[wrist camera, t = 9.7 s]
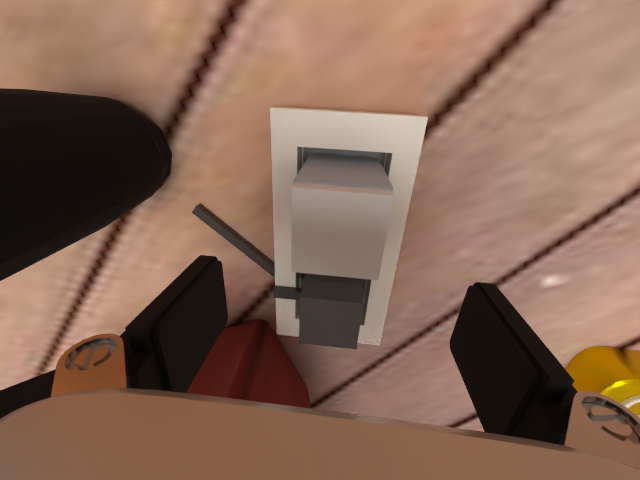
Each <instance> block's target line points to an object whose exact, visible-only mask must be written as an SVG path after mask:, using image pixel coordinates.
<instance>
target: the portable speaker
mask: <svg viewBox="0 0 640 480" xmlns="http://www.w3.org/2000/svg"><path fill="white" fill-rule="evenodd" d="M171 154H172V153H171V151H170V149H169V147H168V145H167V143H166V141H165V138H164V136H163V134H162V132H161V130H160V128H159V127H157V126H156V125H154V124H153V123H151V122H150V121H148V120H147V119H145V118H144V117H142V116H141V115H140V114H138V113H137V112H135V111H133V110H132V109H130V108H129V107H127V106H126V105H124V104H122V103H121V102H119V101H116V100H113V99H110V98H106V97H97V96H87V95H77V94H67V93H57V92H47V91H37V90H27V89H0V281H1V280H3V279H5V278H7V277H9V276H11V275H13V274H15V273H17V272H19V271H21V270H23V269H25V268H26V267H28V266H30V265H32V264H34V263H36V262H38V261H40V260H42V259H44V258H46V257H48V256H50V255H52V254H54V253H56V252H57V251H59V250H61V249H63V248H65V247H67V246H69V245H71V244H73V243H75V242H77V241H79V240H81V239H83V238H85V237H87V236H88V235H90V234H92V233H94V232H96V231H98V230H100V229H102V228H104V227H106V226H107V225H109V224H110V223H112V222H113V221H115V220H116V219H118V218H119V217H121V216H122V215H124V214H125V213H127V212H128V211H130V210H131V209H132V210H133V209H134V207H136V206H137V205H139V204H140V203H142V202H143V201H145V200H146V199H148V198H149V197H151V196H152V195H153V194H154V193H155V192H156V191H157V190H158V189H159V188H160V187H161V186H162V183H163V181H164V180H165V179H166V178H167V176H168V175H169V174H170V164H171ZM128 213H129V212H128ZM128 213H127V214H128ZM123 217H124V216H123Z"/></svg>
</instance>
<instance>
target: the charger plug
mask: <svg viewBox="0 0 640 480" xmlns="http://www.w3.org/2000/svg"><path fill="white" fill-rule="evenodd" d="M392 192H393V186H392V184H391V182H390V180H389V178H388V176H387V174H386V173H385V171H384V169H383V167H382V165H381V163H380V161H379V159H378V157H365V156H352V155H338V154H325V153H311V154H310V156H309V157H308V159H307V160H306V162H305V164H304V165H303V167H302V168H301V170H300V171H299V173H298V174H297V176H296V177H295V179H294V185H293V187H292V238H291V272H298V273H309V274H319V275H329V276H339V277H349V278H359V279H370V280H378V278H379V273H380V268H381V262H382V257H383V252H384V246H385V241H386V236H387V230H388V225H389V220H390V214H391V209H392V203H393V198H394V195H393V193H392Z"/></svg>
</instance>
